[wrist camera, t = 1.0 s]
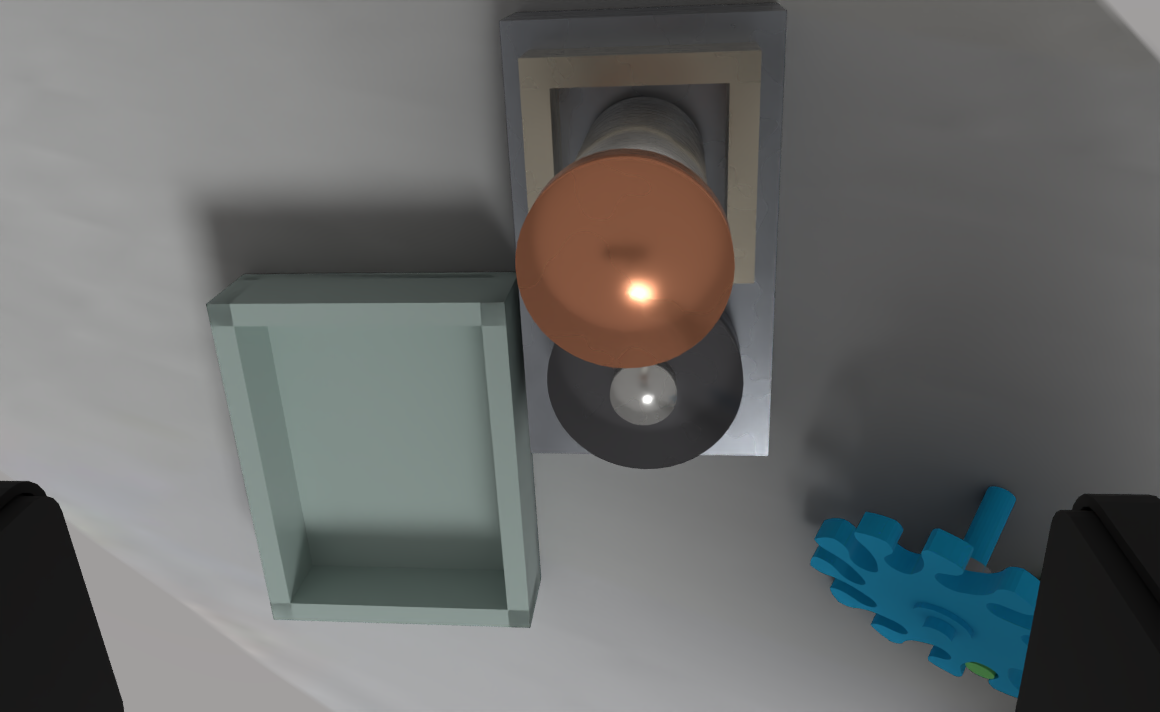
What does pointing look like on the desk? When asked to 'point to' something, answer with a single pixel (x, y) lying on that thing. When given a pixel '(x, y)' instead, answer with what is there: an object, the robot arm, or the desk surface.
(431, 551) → the tray
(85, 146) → the desk surface
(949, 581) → the gear
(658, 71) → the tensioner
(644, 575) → the desk surface
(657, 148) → the pin
